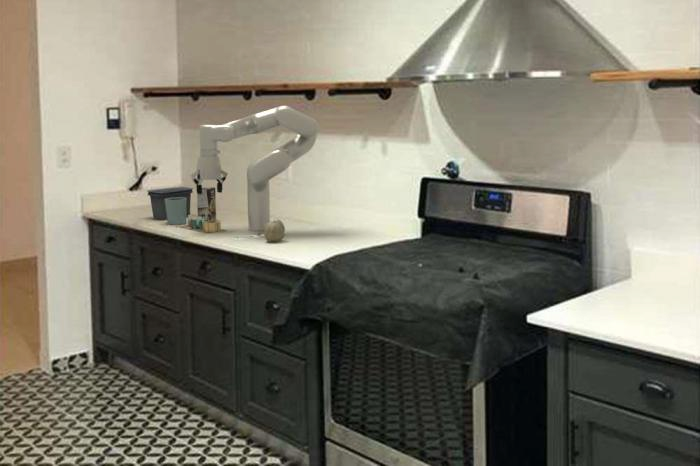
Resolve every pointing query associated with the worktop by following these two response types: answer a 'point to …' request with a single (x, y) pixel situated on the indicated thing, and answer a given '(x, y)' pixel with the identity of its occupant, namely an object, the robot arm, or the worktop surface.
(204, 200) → the coffee box
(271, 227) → the tan rounded piece
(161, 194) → the storage bin
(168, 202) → the grey green cup
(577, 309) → the worktop surface
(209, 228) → the brass gear
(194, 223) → the gear board
